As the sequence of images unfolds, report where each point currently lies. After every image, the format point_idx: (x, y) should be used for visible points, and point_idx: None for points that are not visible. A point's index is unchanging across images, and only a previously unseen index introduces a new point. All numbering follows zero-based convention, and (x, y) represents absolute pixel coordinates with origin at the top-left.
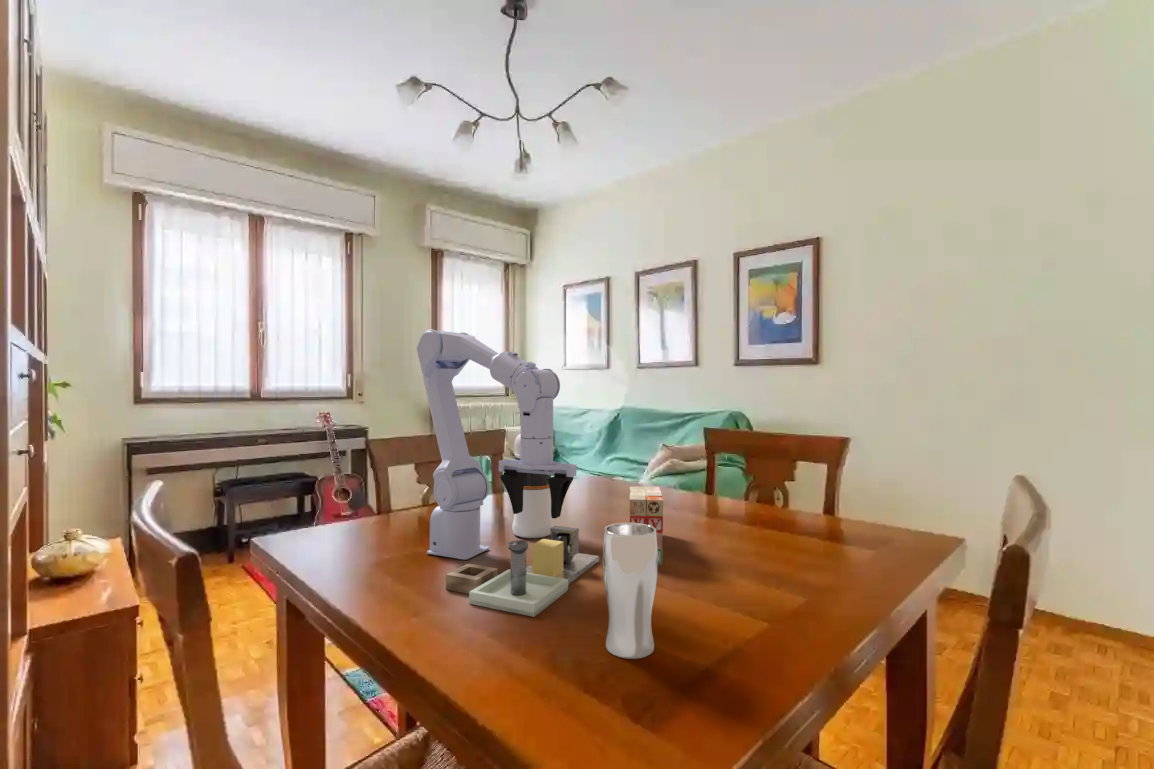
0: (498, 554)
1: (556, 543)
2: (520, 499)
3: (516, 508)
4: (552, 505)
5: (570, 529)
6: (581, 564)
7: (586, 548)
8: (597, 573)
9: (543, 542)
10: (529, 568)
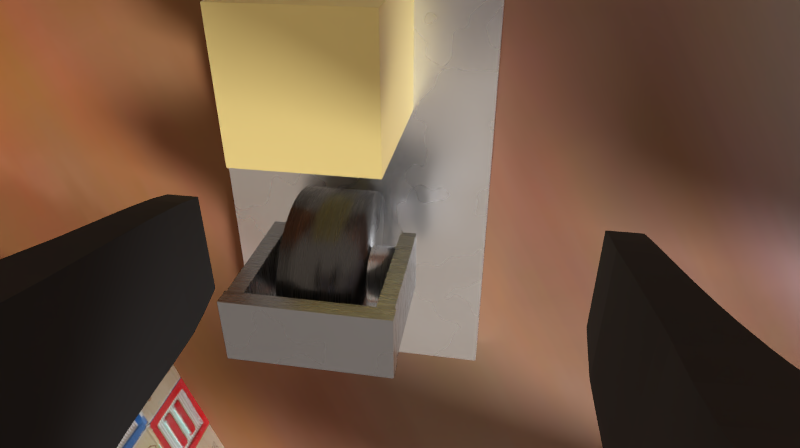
0: (788, 279)
1: (240, 111)
2: (614, 405)
3: (612, 262)
4: (93, 239)
5: (256, 325)
6: (260, 213)
7: (391, 442)
8: (189, 187)
9: (330, 97)
10: (474, 60)
